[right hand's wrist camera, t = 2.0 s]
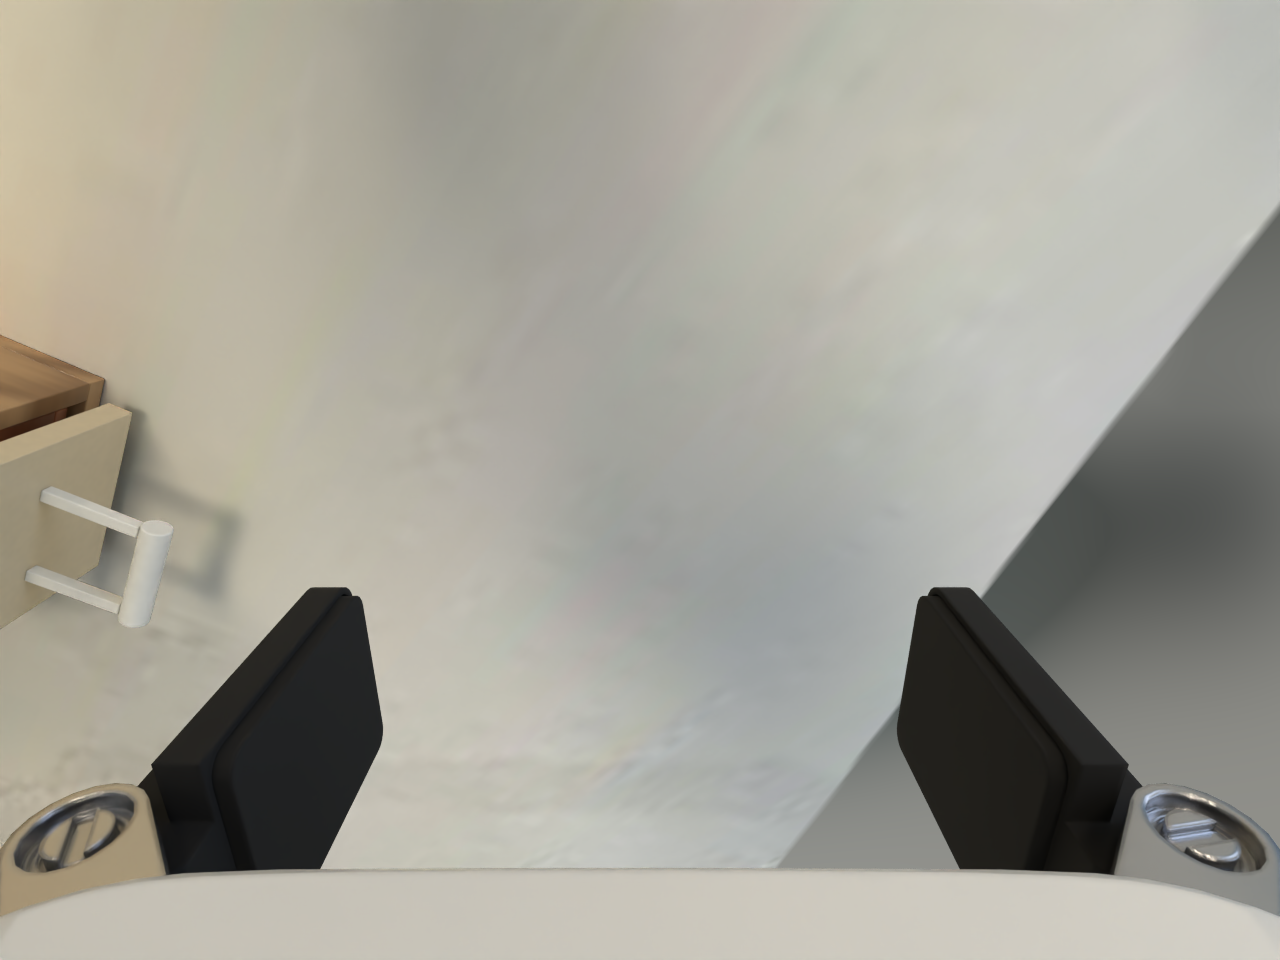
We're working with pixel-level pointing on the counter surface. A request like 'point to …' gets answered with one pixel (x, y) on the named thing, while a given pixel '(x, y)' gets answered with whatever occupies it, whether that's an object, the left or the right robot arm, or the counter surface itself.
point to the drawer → (71, 515)
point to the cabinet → (41, 385)
